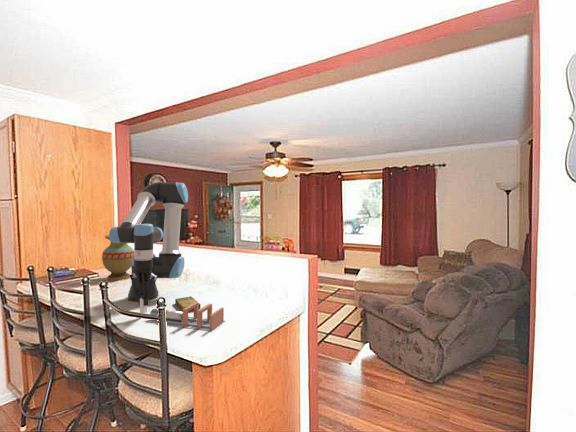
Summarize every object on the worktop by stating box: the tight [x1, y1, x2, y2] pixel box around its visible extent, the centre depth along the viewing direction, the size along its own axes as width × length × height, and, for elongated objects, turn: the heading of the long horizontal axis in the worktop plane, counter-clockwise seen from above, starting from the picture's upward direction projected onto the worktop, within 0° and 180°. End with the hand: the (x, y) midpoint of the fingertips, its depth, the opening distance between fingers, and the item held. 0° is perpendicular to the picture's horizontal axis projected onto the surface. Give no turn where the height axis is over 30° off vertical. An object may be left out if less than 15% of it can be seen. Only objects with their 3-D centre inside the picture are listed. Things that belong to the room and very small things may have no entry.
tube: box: [149, 308, 183, 322], centre depth 129 cm, size 16×4×4 cm, turn 75°
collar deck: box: [154, 301, 226, 333], centre depth 127 cm, size 26×12×8 cm, turn 75°
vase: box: [101, 234, 134, 281], centre depth 209 cm, size 20×20×30 cm
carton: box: [174, 295, 201, 313], centre depth 147 cm, size 8×16×4 cm, turn 33°
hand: (143, 312), depth 132 cm, fingers closed
